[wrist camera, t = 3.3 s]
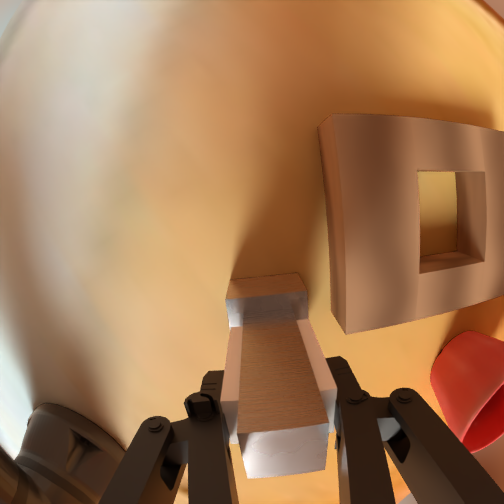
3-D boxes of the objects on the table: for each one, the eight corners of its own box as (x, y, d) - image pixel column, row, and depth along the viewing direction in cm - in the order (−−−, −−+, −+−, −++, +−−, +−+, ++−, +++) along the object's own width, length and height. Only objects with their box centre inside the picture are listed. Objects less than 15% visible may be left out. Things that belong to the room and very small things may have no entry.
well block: (331, 311, 22) (345, 334, 18) (317, 127, 19) (332, 113, 15) (489, 279, 22) (514, 290, 18) (488, 138, 19) (515, 134, 15)
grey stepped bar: (238, 339, 22) (226, 490, 9) (230, 279, 21) (199, 413, 8) (300, 332, 22) (346, 476, 9) (297, 272, 21) (361, 395, 8)
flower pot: (414, 345, 23) (469, 406, 13) (492, 300, 22) (552, 336, 13) (416, 414, 25) (452, 470, 16) (486, 371, 24) (528, 412, 15)
